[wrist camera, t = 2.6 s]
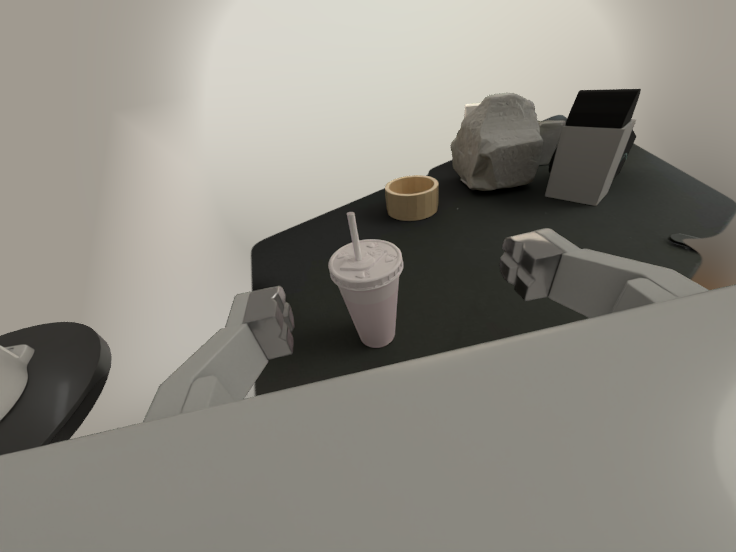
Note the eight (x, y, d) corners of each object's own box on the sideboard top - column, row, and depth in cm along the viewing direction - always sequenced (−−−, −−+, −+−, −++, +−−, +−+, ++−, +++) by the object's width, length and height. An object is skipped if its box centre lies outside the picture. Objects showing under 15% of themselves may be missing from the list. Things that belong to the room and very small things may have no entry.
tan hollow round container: (385, 222, 49) (383, 197, 47) (388, 200, 56) (386, 177, 54) (439, 219, 48) (440, 193, 45) (435, 196, 55) (436, 173, 52)
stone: (474, 200, 52) (483, 104, 43) (448, 178, 61) (451, 96, 52) (536, 188, 52) (558, 91, 43) (500, 168, 62) (513, 85, 53)
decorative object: (629, 169, 54) (670, 70, 45) (595, 205, 45) (638, 93, 36) (579, 163, 59) (606, 74, 50) (540, 195, 50) (565, 94, 41)
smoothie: (337, 329, 32) (303, 211, 23) (385, 303, 34) (371, 187, 25) (366, 370, 27) (337, 243, 18) (420, 338, 29) (417, 210, 21)
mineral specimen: (567, 160, 59) (570, 118, 54) (520, 171, 62) (518, 133, 58) (559, 148, 64) (560, 109, 60) (515, 159, 68) (513, 123, 63)
